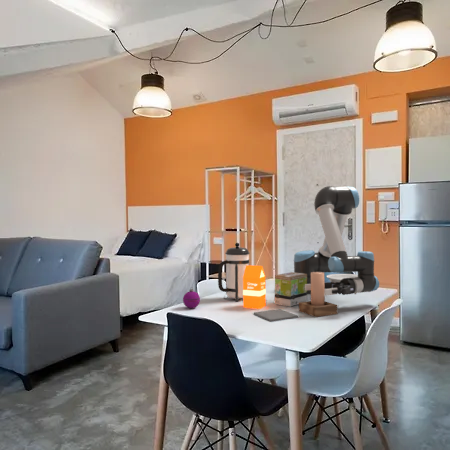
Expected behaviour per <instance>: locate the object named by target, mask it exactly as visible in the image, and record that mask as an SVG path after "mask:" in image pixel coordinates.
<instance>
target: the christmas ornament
mask: <svg viewBox="0 0 450 450" xmlns="http://www.w3.org/2000/svg"><path fill="white" fill-rule="evenodd" d="M182 302H183V305H185V306H184V307H186V308H188V309H195V308H196V307H198V306H199V305H200V303H201V296H200V294H199V293H198V292H196V291H194V288H193V287H190V289H189V291H187V292H186V293H185V294H184V295H183V297H182Z"/></svg>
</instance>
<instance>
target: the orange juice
mask: <svg viewBox="0 0 450 450" xmlns="http://www.w3.org/2000/svg"><path fill="white" fill-rule="evenodd" d="M266 295H267V291H266V274H265V271H264V267H263V265H252V264H249V265H246V267H245V272H244V276H243V298H242V299H243V300H242V301H243V302H242V304H243V306H242V307H243V309H244V308H247V309H253V310H254V309H255V310H256V309H257V310H261V309H263V308H265V307H266V306H267V302H266V299H267V297H266Z"/></svg>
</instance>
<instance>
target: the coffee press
mask: <svg viewBox="0 0 450 450" xmlns="http://www.w3.org/2000/svg"><path fill="white" fill-rule="evenodd" d="M224 255H225V260H223V261H221V262H220V264H219V265H218V268H217V269H218V270H217V285H218V289H219V290H220V291H221V292H224V293H225V294H226V295H224V296H223V299H224V300H227V299H228V298H230V299H235V300H234V302H235V303H238V302H239V299H243V276H244V272H245V267H246V265H250V251H249V249H248V248H246V247H242V246H241V247H240V242H236V243H235V247H229V248H227V249H226V251H225V254H224ZM224 266H225V288H224V286H223V267H224ZM226 296H227V297H226Z"/></svg>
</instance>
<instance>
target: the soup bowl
mask: <svg viewBox="0 0 450 450" xmlns="http://www.w3.org/2000/svg"><path fill="white" fill-rule="evenodd" d="M352 277H358V274H355V273H354V274H353V273H352V274H351V273H333V274H331V273H330V274H327V275H326V278H327V279H328V280H329V282H334V283H336V282H340V281H341V280H342V279H344V278H352Z"/></svg>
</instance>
